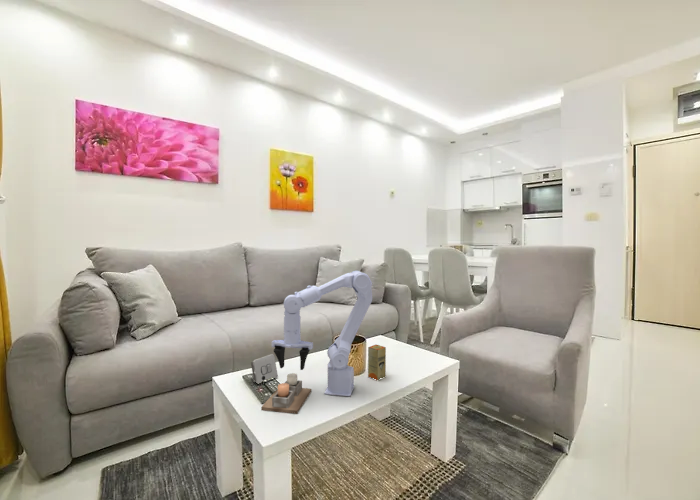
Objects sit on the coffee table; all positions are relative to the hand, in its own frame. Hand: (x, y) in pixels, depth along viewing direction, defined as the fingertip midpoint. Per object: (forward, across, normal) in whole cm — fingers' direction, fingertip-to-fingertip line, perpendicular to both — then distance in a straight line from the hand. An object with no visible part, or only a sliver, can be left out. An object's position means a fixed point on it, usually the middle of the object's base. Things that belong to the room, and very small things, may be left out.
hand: (292, 368), depth 109 cm
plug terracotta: (+6, 0, -8) cm, 10 cm away
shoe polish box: (+10, +28, +20) cm, 36 cm away
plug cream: (+6, 0, 0) cm, 6 cm away
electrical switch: (+10, -15, +9) cm, 20 cm away
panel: (+9, 0, -4) cm, 10 cm away
